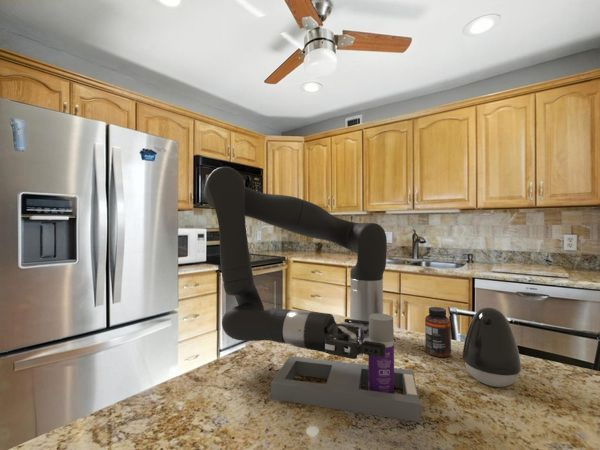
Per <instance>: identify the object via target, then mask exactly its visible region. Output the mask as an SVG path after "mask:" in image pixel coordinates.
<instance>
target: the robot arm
mask: <svg viewBox="0 0 600 450" xmlns="http://www.w3.org/2000/svg"><path fill="white" fill-rule="evenodd" d="M203 198H204V199H205V202H206V203H207V204H208V205H209V206H210V207H211V208H213V209H214V210H215V213H216V218H217V223H218V231H219V258H220V259H219V261H220V270H221V275H222V276H221V277H222V283H223V289H224V292H225V294H226V295H228V296H234V297H235V300H236V302H237V305H236V306H233V307H231V308H229V309H228V310H227V311H226V312H225V313H224V314H223V317H222V320H221V326H222V329H223V331H224V333H225V335H227V336H228V337H230V338H231V339H233V340H235V341H244V342H250V341H251V342H258V341H259V342H260V341H271V342H274V343H280V344H285V345H290V346H292V347H295V348H300V349H306V350H309V351H317V352H321V353H325V354H329V355H333V356H337V357H341V358H346V359H351V360H356V359H358V356H360V357H362V356H363V355H365V356H368V355H371V356H376V357H382V358H383V357H385V355H386V346H385V344H383V343H377V342H371V341H368V339H369V315H371V314H384V272H385V270H386V265H387V250H388V243H387V242H388V240H387V239H388V238H387V234H386V231H385V229H384V228H383V226H382V225H381V224H378V223H375V222H354V221H349V220H346V219H341V218H339V217H336V216H334V215H332V214H331V213H330V212H329V211H327V210H326V209H324V208H323V207H321V206H319V205H317V204H315V203H312V202H310V201H307V200H306V199H302V198H299V197H296V196H291V195H284V194H275V193H274V194H272V193H271V194H270V193H265V192H260V191H256V190H253V189H252V188H249V187H247V186H246V184H245V180H244V178H243V176H242V175H241V173H240V172H239V171H238V170H236V169H235V168H232V167H230V166H220V167H217V168H216V169H214V170H212V172H211V173H210V174H209V175H208V177H207V179H206V181H205V184H204V187H203ZM246 217H248V218H252V219H255V220H258V221H260V222H263V223H266V224H268V225H270V226H273V227H277V228H280V229H282V230H284V231H285V230H286V231H288V232H291V233H295V234H297V235H300V236H305V237H308V238H312V239H317V240H323V241H328V242H331V243H332V244H336V245H338V246H340V247H343V249H344V248H345V249H347V250H349V251H351V252H353V253H355V254H357V257H356V258H357V259H356V260H357V261H356V263H355V265H354V266H352V267H351V268H350V276H349V277H350V281H349V282H350V288H349V289H350V293H349V294H350V296H349V297H350V298H349V299H350V305H349V306H350V308H349V309H350V313H349V314H350V315H349V316H350V317H349V318H345V319H344V322H341V323H337V322H336V321H335V316H334V315H333V314H332V313H327V312H320V311H318V312H317V311H311V310H303V309H301V310H300V309H298V310H297V309H296V310H295V309H287V308H286V309H285V308H279V307H278V308H275V307H274V308H269V309H265V306H264V303H263V302H262V299H261V297H260V294H259V290H258V289H257V287H256V285H255V282H254V281H255V280H254V273H253V267H252V263H251V255H250V251H249V250H250V249H249V245H248V244H249V243H248V237H247V229H246V228H247V227H246Z"/></svg>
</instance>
